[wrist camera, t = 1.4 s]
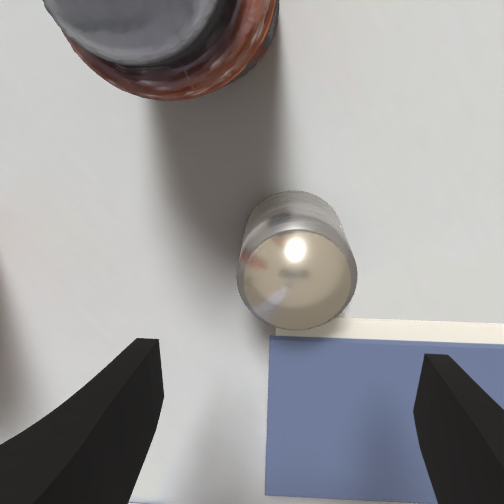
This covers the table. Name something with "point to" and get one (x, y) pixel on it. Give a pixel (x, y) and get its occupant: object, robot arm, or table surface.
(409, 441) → the book
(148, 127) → the table surface
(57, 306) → the table surface
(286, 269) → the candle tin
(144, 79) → the supplement bottle
